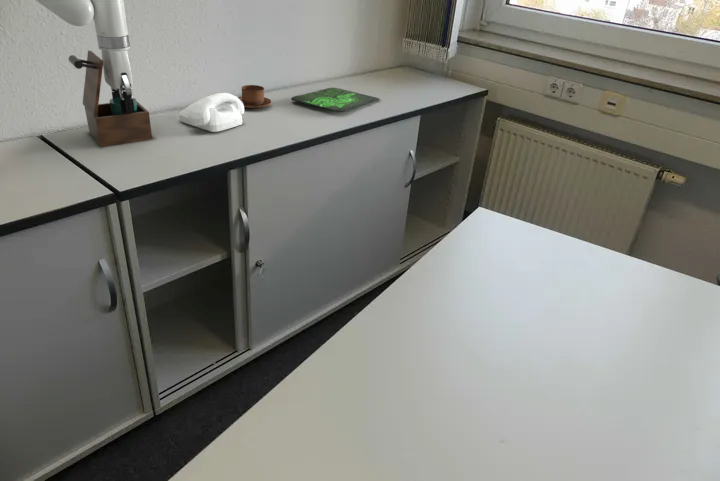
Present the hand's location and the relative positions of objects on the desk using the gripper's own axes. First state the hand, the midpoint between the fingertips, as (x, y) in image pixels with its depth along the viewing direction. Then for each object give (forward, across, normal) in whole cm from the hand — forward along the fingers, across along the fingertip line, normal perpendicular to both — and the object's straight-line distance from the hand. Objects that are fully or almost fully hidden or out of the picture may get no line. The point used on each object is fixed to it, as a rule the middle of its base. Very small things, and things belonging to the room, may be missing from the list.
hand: (124, 109), depth 149 cm
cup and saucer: (+8, -9, +43) cm, 45 cm away
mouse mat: (+7, -2, +73) cm, 73 cm away
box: (+7, 0, -2) cm, 8 cm away
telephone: (+7, +1, +24) cm, 26 cm away
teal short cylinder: (+1, 0, 0) cm, 1 cm away
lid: (-8, 0, -6) cm, 10 cm away
